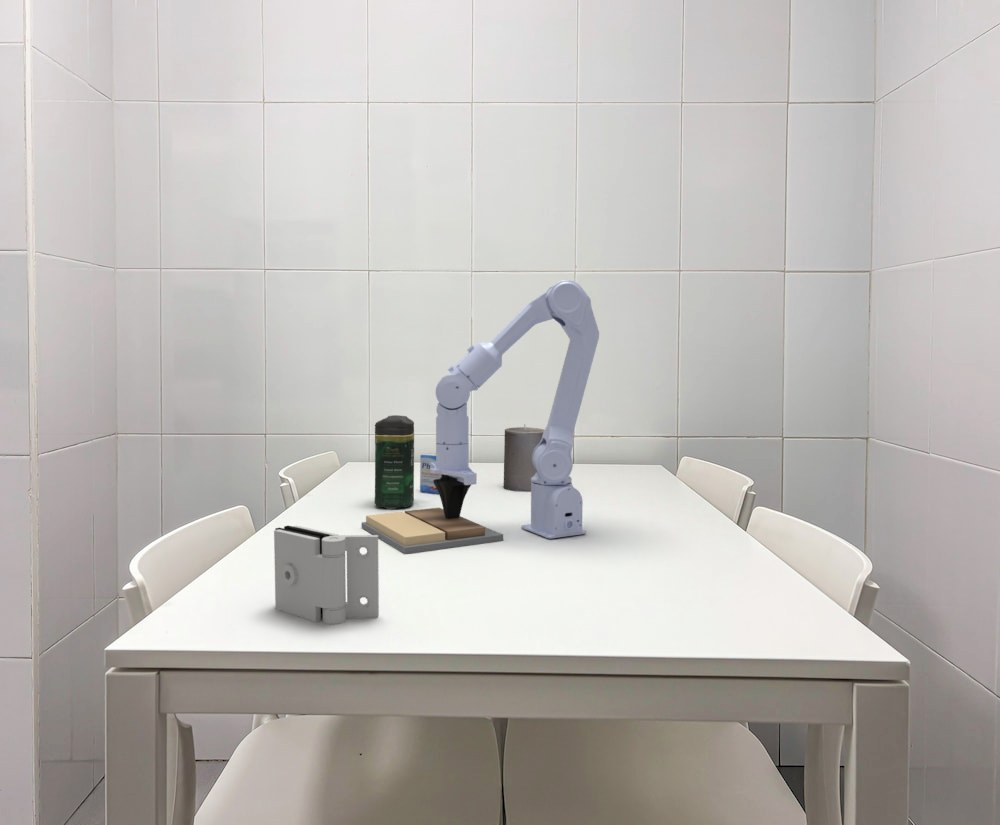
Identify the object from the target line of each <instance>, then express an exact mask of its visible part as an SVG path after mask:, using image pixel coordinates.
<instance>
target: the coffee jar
mask: <svg viewBox="0 0 1000 825" xmlns="http://www.w3.org/2000/svg"><path fill="white" fill-rule="evenodd" d="M414 425H415V423H414V420H412V419H410V418H409V417H408V416H407V415H395V414H394V415H388V416H387V417H385V418H382V419H380V420H378V421H376V422H375V424H374V450H375V451H374V504H375V506H376V507H378V508H380V507H381V508H386V509H391V510H396V509H398V508H407V507H410V506H411V505H412V504H413V502H414V499H415V487H414V486H415V485H414V483H415V481H414V480H415V426H414Z"/></svg>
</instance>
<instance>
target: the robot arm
mask: <svg viewBox="0 0 1000 825" xmlns="http://www.w3.org/2000/svg"><path fill="white" fill-rule="evenodd" d="M551 320H554V321H556V322H557V323H558V324H560V326H561V328H562V329H563V332H565V334H566V335H567V337H568V339H569V343H568V346H567V350H566V353H565V357H564V362H563V365H562V368H561V372H560V376H559V380H558V384H557V386H556V392H555V395H554V398H553V402H552V406H551V409H550V413H549V418H548V420H547V424H546V427H545V431H544V433H543V436H542V439H541V441H540V443H539V444H538V445H537V446H536V448H535V449H534V451H533V453H532V463H533V466H534V467H535V469H536V470H537V472H536V473H535V475H534V476H533V477H532V478H531V491H530V523H527V524H522V525H520V526H521V527H520V528H521V529H524V530H526V531H529V532H531V533H534V534H535V535H539V536H541V537H544V538H547V539H557V538H564V537H571V536H577V535H586V534H587V530H584V529H583V496H582V494H581V493H580V491H579V490H578V489H577V488H575V487H574V486H573V481H572V480H573V479H572V477H571V476H570V475H571V473H572V472H573V466H574V465H573V464H574V463H573V459H572V450H573V447H574V446H573V445H574V431H575V428H576V424H577V421H578V417H579V413H580V409H581V406H582V402H583V398H584V394H585V391H586V387H587V384H588V380H589V376H590V372H591V369H592V365H593V361H594V357H595V353H596V350H597V346H598V342H599V340H600V339H599V338H600V331H599V327H598V324H597V321H596V317H595V315H594V311H593V308H592V301H591V298H590V296H589V294H588V293H586V291H585V290H584V288H583V287H582V286H581V285H580V284H579V283H578V282H576V281H574V280H572V279H563V280H560V281H558V282H556V283H555V284H553V285H552V286H550V287H549V288H548V289H547V290H546V291H545V292H543V293H542V294H540V295H539V296H537V297H535V299H534V300H531V301H530V302H529V303H527V304H526V305H525V306H524V307H523V308H522V309H521V310H520V311H519V312H518V313H517V314H516V315H514V317H513V318H512V320H510V321H509V322H508V324H507V325H505V327H503V329H501V331H500V332H498V334H497V335H496V336H495V337H494V338H492V340H491V341H490V342H482V341H481V342H478V343H477V344H476V345H473V344H471V345H470V346H469V347H468V348H467V352H468V353H467V354H466V355H465V356H464V357H463V358H462V359H461V360H459V361H458V362H457V364H456V365H454V366H453V365H451V366H449V368H448V369H447V370H448V371H449V373H450V374H447V375H444V376H443V377H441V379H439V381H438V382H437V385H436V387H435V397H436V400H437V402H438V403H437V405H436V414H437V415H436V417H435V425H436V426H435V442H436V443H435V445H436V446H435V450H436V451H435V453H436V462H431V463H430V473H434V474H440V475H442V477H441V478H440V479H435V480H433V482H434V485H435V486H436V488H437V490H438V492H439V494H438V495H439V498H440V502H441V504H442V509H443V510H444V514H445V518H447V519H454V518H459V517H460V516H461V513H462V512H461V511H462V508H463V504H464V500H465V498H466V496H467V493H468V491H469V489H470V488H471V486H472V485H477V479H478V478H477V477H478V476H477V473H476V472H474V471H473V470H472V469H471V467H470V466H469V463H470V462H469V461H470V460H469V455H470V454H469V451H470V450H469V447H470V446H469V425H470V424H469V416H468V401H469V399H470V396H471V392H474V391H477V390H479V389H480V388H481V387H482V386H483V385H484V384H485V383H486V382H487V381H488V380H489V379H490V378H491V377H492V376H493V375H494V374H495V373H496V372H497V371H498V370H499V369H500V368H501V367H502V366H503V365H502V364H503V360H502V359H503V355H504V353H506V352H507V351H508V350H509V349H510V348H511V347H513V346H514V345H515V344H516V343H517V342H518V341H519V340H520V339H521V338H522V337H523V336H525V334H526V333H527V332H529V331H530V330H531V329H532V328H533V327H534V326H536V325H538V324H540V323H543V322H547V321H551Z"/></svg>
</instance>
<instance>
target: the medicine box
mask: <svg viewBox="0 0 1000 825" xmlns="http://www.w3.org/2000/svg"><path fill="white" fill-rule="evenodd" d="M419 457H420V460H419V461H420V462H419V463H420V464H419V465H420V466H419V469H420V470H419V473H420V474H419V477H420V478H419V492H420V493H424V494H431V495H439V492H438V490H437V488H436V486H435V485H434V482H433V480H435V479H440V478H441V477H442V475H440V474H434V473H430V463H431V462H436V452H435V453H434V452H426V453H422V454H420V456H419Z"/></svg>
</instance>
